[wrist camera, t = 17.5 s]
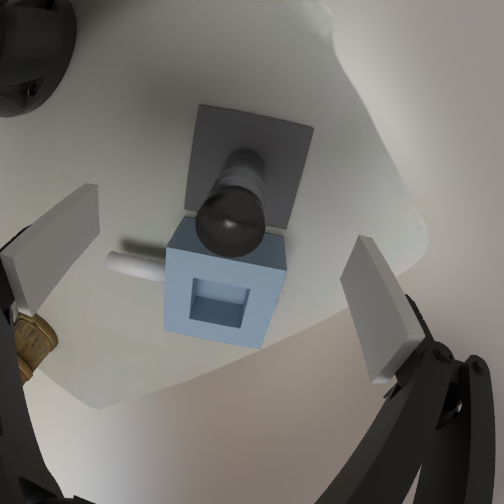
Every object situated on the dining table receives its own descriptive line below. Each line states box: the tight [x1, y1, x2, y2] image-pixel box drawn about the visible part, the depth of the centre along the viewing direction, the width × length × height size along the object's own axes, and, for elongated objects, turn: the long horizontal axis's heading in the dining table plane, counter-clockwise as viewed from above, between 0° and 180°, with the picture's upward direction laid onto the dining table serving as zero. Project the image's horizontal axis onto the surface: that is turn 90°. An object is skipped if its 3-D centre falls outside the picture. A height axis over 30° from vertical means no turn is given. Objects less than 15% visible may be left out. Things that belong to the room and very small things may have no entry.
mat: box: [184, 105, 314, 229], centre depth 25 cm, size 10×10×1 cm
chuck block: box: [106, 217, 287, 349], centre depth 28 cm, size 10×17×6 cm, turn 78°
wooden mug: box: [14, 312, 58, 386], centre depth 32 cm, size 9×14×18 cm, turn 27°
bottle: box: [195, 149, 265, 258], centre depth 20 cm, size 4×4×12 cm
